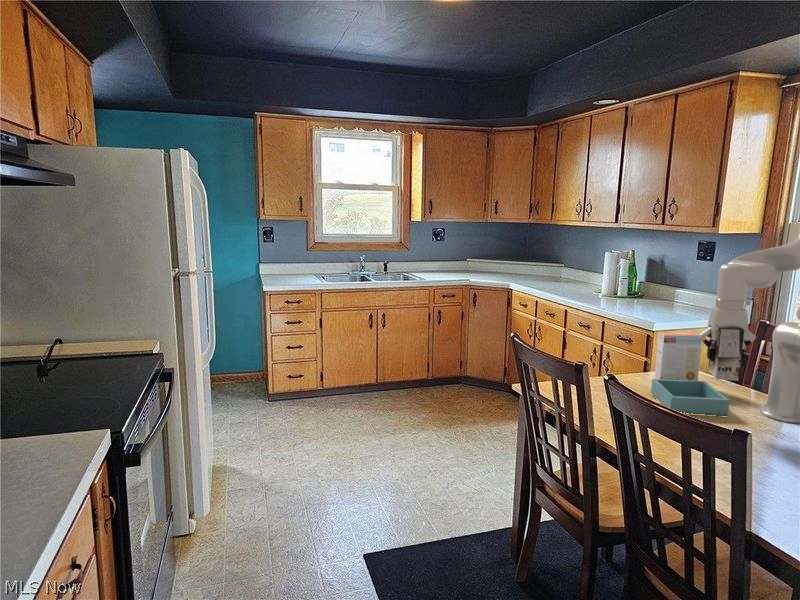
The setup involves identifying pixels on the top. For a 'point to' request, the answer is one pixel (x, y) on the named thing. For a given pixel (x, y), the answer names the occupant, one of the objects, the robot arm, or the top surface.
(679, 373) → the cracker box
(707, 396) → the tote
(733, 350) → the coffee box
